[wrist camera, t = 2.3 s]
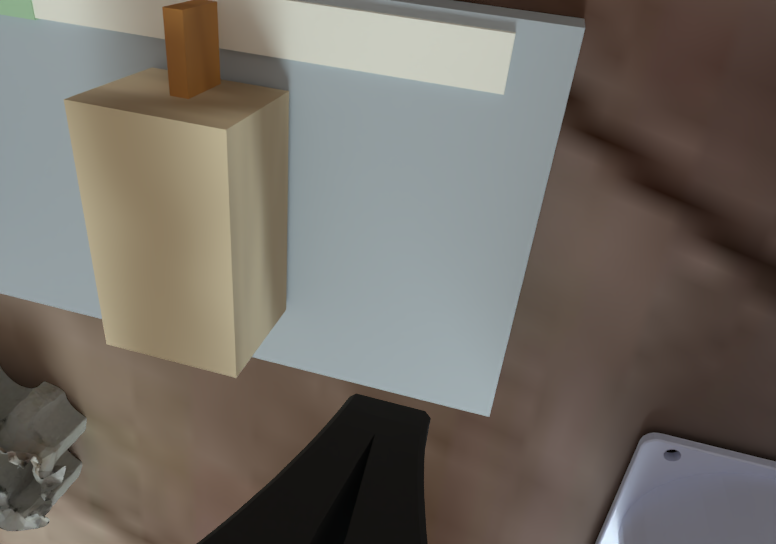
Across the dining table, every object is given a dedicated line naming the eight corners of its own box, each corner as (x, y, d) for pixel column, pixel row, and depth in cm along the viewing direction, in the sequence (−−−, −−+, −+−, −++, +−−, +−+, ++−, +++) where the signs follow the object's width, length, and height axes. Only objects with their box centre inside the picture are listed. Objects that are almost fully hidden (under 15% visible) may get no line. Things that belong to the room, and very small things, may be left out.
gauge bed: (584, 18, 15) (590, 83, 9) (494, 387, 21) (464, 565, 16) (-176, -88, 19) (-508, -89, 13) (-65, 250, 25) (-259, 352, 19)
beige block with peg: (290, 9, 15) (222, 32, 12) (286, 309, 20) (236, 378, 17) (144, -13, 16) (47, 4, 13) (173, 282, 21) (106, 344, 18)
